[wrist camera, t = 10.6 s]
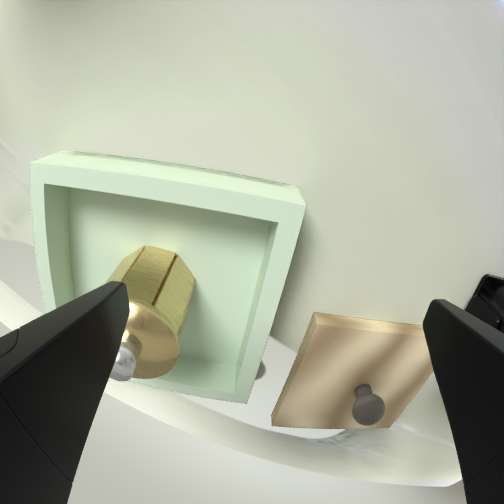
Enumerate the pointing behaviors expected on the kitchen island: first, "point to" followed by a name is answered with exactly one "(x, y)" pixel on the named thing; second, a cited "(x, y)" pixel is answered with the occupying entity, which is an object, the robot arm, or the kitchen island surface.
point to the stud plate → (353, 374)
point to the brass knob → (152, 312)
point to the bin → (176, 240)
